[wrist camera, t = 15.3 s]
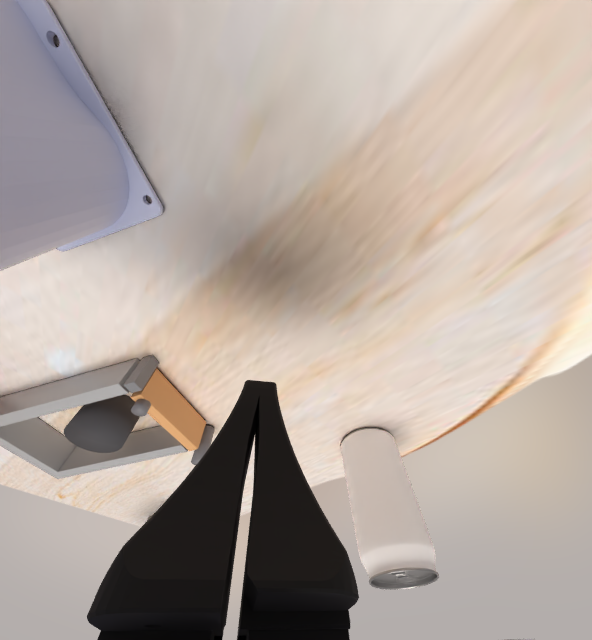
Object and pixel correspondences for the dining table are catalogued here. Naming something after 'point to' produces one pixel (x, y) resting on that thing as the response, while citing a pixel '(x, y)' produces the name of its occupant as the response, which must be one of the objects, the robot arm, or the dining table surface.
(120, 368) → the grey frame
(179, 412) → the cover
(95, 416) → the dark grey cylinder
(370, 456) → the can
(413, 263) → the dining table surface
